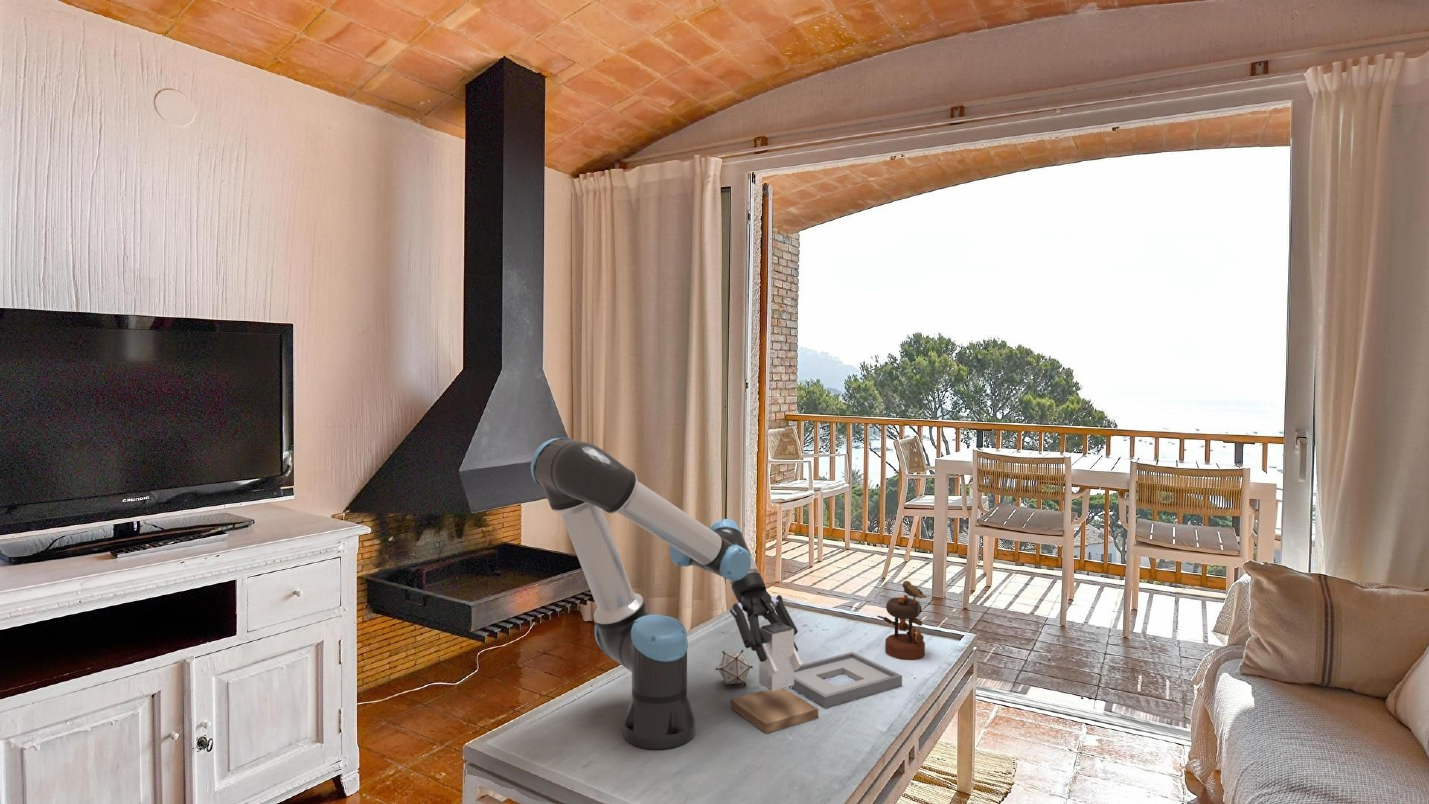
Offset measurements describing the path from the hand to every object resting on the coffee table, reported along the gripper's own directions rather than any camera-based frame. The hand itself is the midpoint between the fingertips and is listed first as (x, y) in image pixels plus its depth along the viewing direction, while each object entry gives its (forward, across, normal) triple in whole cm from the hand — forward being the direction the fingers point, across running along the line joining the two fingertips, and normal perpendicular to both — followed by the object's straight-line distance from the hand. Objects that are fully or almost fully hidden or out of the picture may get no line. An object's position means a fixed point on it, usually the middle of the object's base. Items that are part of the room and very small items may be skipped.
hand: (786, 670), depth 166 cm
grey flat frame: (+2, -23, -14) cm, 26 cm away
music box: (-3, -51, -19) cm, 54 cm away
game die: (-7, 0, -23) cm, 24 cm away
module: (0, 0, -6) cm, 6 cm away
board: (+5, +1, -10) cm, 11 cm away
